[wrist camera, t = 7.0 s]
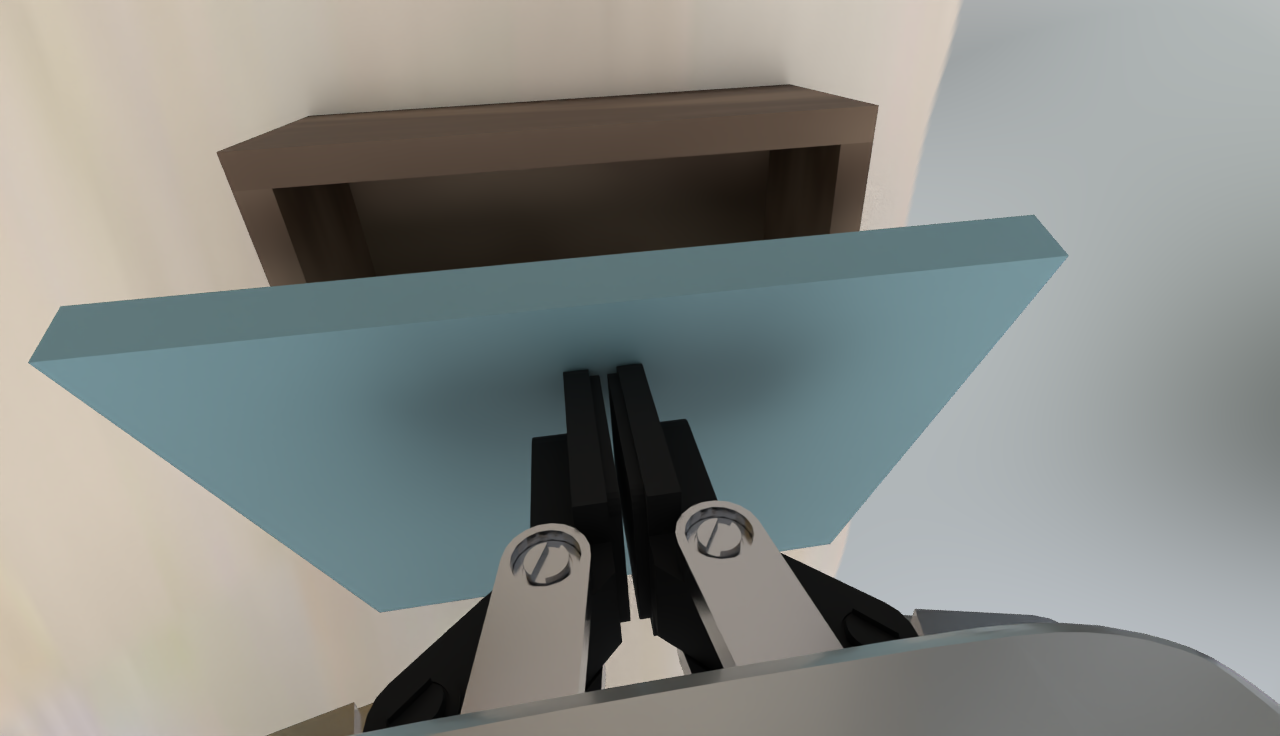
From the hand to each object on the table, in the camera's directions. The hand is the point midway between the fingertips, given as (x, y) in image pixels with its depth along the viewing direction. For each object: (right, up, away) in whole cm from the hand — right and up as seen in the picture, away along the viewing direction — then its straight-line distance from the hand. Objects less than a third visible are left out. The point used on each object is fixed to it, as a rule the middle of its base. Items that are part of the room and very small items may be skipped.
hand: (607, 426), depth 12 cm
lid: (0, -1, +5) cm, 5 cm away
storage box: (-2, +4, +14) cm, 14 cm away
